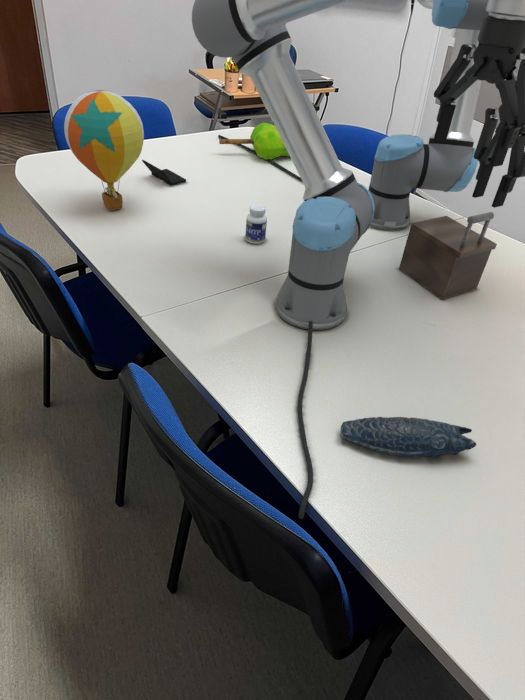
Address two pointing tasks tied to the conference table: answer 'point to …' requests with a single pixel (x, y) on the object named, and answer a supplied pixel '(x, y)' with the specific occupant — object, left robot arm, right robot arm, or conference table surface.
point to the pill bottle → (256, 224)
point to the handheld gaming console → (165, 175)
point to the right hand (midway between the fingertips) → (487, 200)
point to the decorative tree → (263, 141)
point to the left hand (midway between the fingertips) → (466, 153)
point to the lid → (456, 234)
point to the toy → (105, 138)
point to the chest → (441, 267)
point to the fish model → (407, 436)
